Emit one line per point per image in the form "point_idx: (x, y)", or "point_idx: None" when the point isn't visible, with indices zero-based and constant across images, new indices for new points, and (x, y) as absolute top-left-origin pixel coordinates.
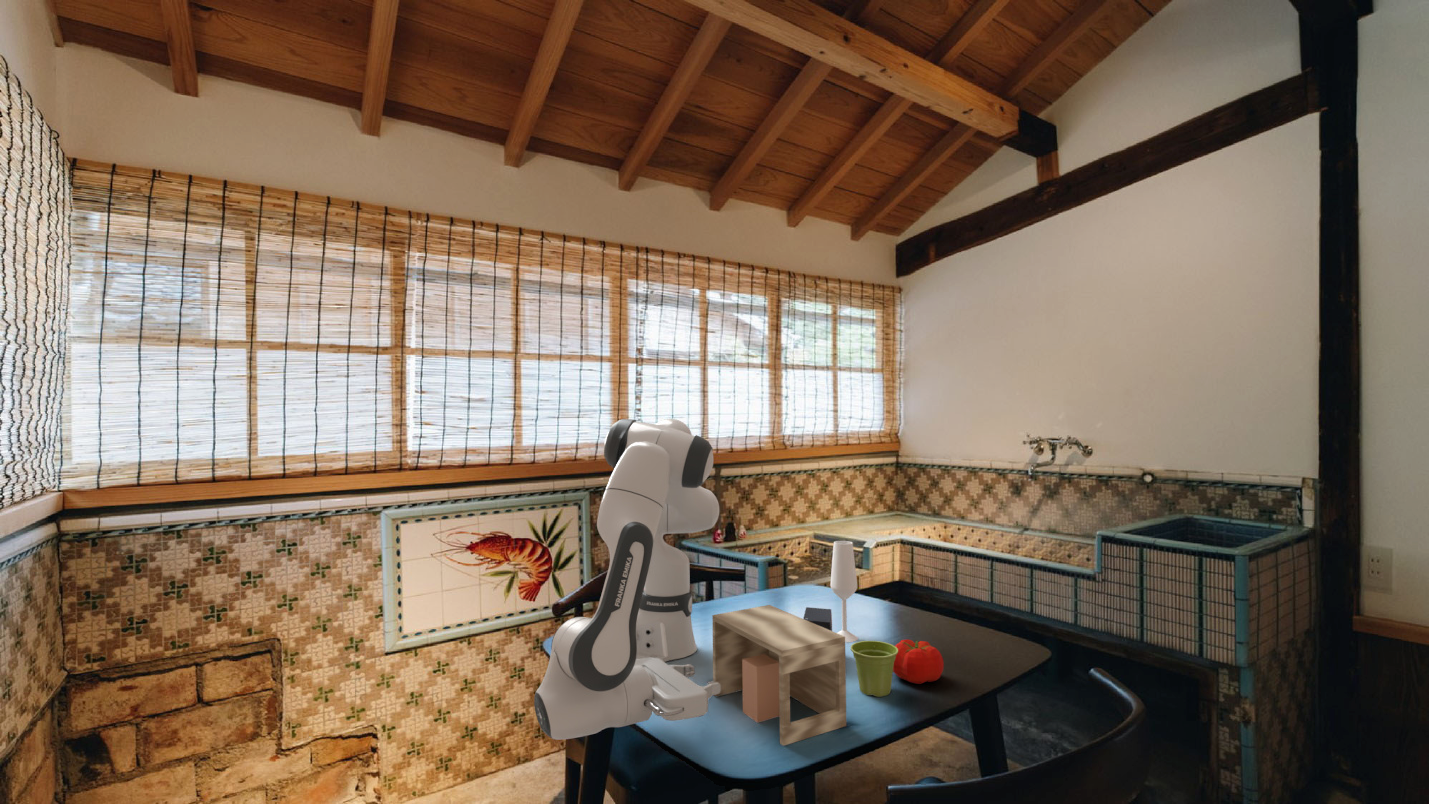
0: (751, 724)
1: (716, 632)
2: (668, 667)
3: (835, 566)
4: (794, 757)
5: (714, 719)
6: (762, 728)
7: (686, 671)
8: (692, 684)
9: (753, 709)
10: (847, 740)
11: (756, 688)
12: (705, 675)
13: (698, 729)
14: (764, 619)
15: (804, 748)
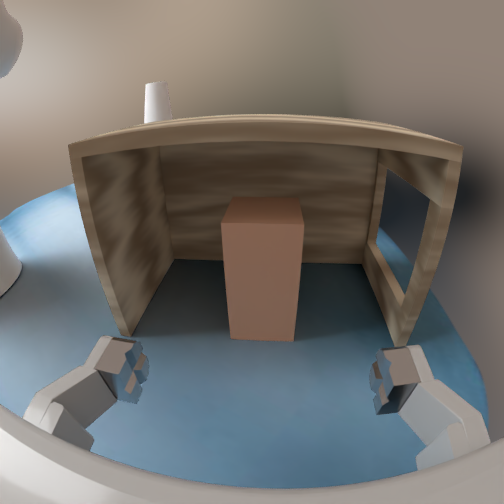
0: (294, 354)
1: (89, 189)
2: (68, 474)
3: (153, 107)
4: (444, 347)
5: (215, 402)
6: (323, 345)
7: (126, 384)
8: (495, 472)
9: (278, 324)
10: (406, 275)
11: (297, 278)
12: (64, 298)
13: (237, 464)
14: (210, 118)
15: (419, 324)
